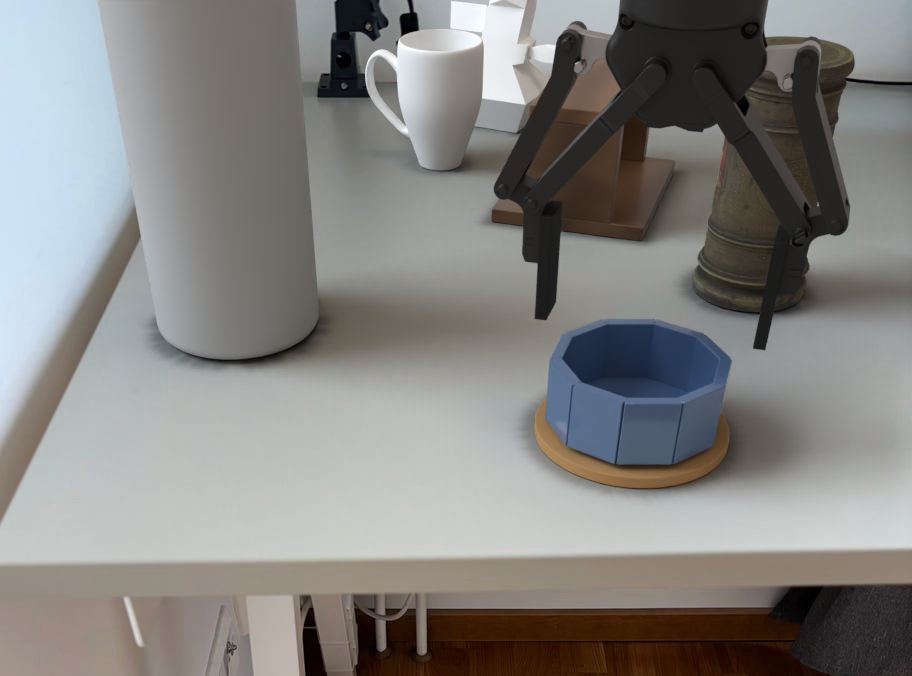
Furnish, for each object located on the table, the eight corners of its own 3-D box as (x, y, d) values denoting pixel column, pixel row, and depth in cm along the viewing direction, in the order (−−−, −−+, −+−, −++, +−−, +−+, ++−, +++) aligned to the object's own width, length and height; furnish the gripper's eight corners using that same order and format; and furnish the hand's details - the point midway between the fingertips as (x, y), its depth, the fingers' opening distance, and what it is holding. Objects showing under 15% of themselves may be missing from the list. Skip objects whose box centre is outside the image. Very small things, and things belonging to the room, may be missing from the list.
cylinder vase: (308, 366, 80) (275, -22, 63) (141, 362, 81) (64, -24, 64) (329, 291, 90) (304, -65, 73) (179, 288, 90) (120, -67, 73)
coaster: (738, 402, 77) (740, 392, 76) (714, 504, 68) (716, 494, 67) (558, 373, 80) (559, 363, 79) (512, 467, 71) (512, 457, 70)
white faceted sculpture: (544, 141, 116) (554, -5, 107) (427, 122, 121) (427, -20, 112) (572, 118, 122) (584, -23, 113) (459, 100, 127) (461, -36, 117)
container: (823, 289, 90) (884, 49, 78) (764, 325, 85) (820, 75, 73) (730, 257, 95) (775, 26, 82) (669, 289, 90) (707, 49, 78)
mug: (491, 155, 113) (495, 33, 106) (465, 182, 108) (467, 55, 100) (384, 141, 116) (381, 21, 109) (353, 167, 111) (347, 43, 103)
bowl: (726, 394, 76) (739, 330, 73) (703, 485, 68) (717, 418, 64) (569, 369, 78) (575, 307, 75) (529, 454, 70) (533, 388, 67)
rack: (673, 172, 110) (690, 59, 103) (641, 241, 97) (658, 117, 90) (539, 156, 113) (546, 46, 106) (491, 221, 100) (495, 101, 93)
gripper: (440, -71, 54) (443, 324, 69) (974, -45, 48) (855, 382, 63) (482, -98, 60) (477, 275, 74) (969, -77, 54) (860, 324, 68)
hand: (650, 325), depth 68 cm, fingers open, 13 cm apart
